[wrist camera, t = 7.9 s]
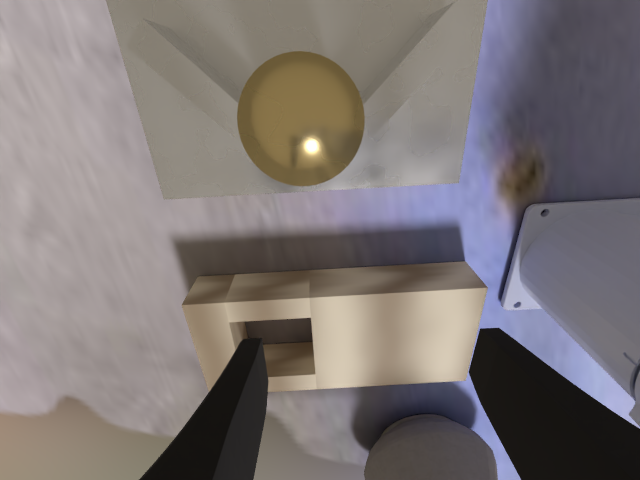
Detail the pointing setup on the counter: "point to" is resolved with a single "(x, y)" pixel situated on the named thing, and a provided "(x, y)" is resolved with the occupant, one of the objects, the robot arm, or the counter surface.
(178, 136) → the v-block
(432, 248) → the counter surface
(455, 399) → the counter surface
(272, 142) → the axle
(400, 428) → the coffee pot
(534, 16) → the counter surface
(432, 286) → the beam
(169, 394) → the counter surface
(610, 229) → the robot arm
